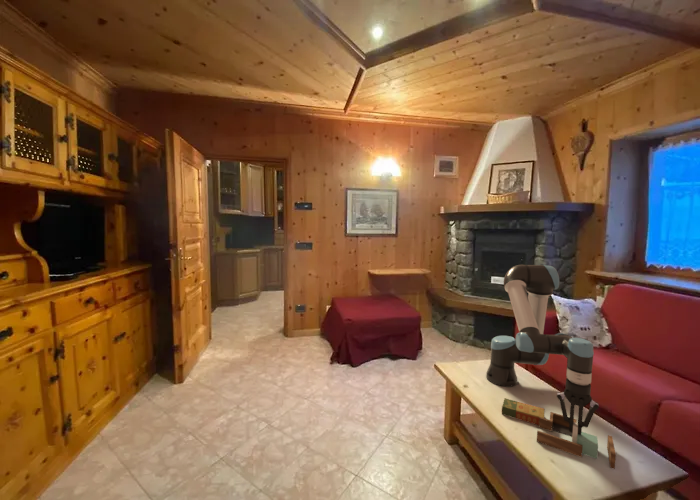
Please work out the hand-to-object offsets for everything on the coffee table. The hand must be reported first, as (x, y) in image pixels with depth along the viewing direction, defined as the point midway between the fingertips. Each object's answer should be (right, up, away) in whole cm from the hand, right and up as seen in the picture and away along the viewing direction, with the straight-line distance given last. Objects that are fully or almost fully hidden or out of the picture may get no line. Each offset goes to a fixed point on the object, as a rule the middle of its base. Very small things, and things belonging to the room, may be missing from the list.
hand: (574, 440), depth 117 cm
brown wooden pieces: (+2, -2, +3) cm, 4 cm away
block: (+3, -2, -2) cm, 4 cm away
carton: (-9, -1, +19) cm, 21 cm away
